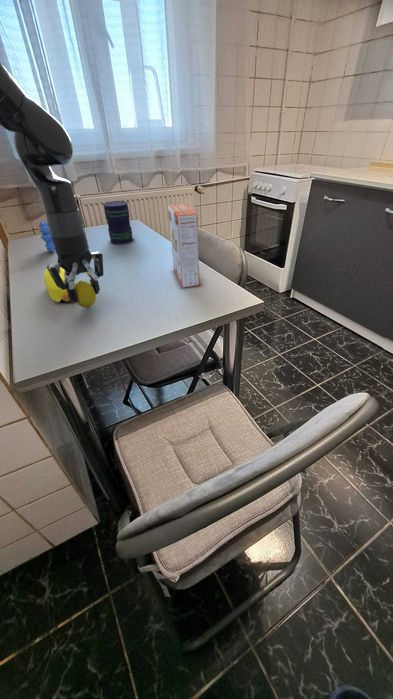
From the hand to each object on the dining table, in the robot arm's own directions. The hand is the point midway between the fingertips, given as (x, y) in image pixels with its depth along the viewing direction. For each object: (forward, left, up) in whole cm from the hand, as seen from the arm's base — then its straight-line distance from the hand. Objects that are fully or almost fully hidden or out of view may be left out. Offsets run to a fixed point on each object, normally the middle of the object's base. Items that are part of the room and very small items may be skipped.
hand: (85, 296), depth 78 cm
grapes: (+16, +54, -4) cm, 57 cm away
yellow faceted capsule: (0, +15, -4) cm, 16 cm away
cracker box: (+31, -6, -4) cm, 32 cm away
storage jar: (+42, +44, -4) cm, 61 cm away
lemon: (0, 0, -4) cm, 4 cm away
